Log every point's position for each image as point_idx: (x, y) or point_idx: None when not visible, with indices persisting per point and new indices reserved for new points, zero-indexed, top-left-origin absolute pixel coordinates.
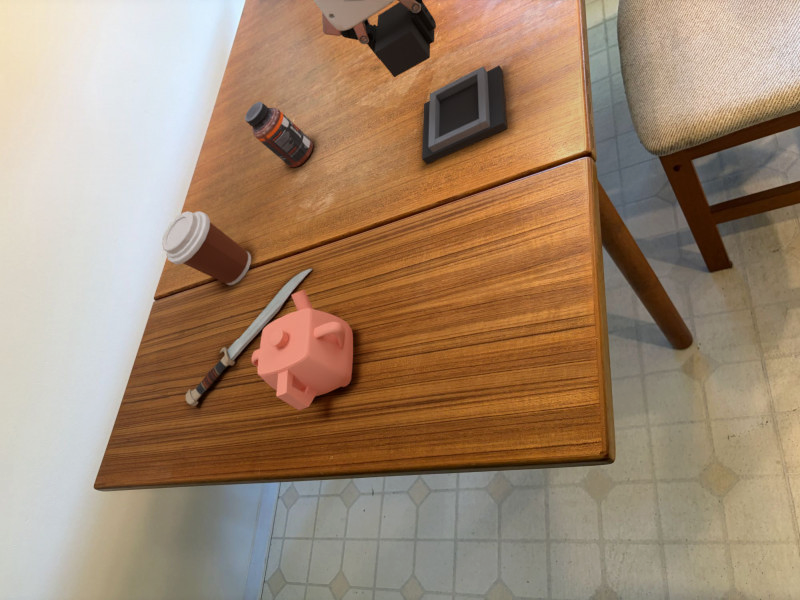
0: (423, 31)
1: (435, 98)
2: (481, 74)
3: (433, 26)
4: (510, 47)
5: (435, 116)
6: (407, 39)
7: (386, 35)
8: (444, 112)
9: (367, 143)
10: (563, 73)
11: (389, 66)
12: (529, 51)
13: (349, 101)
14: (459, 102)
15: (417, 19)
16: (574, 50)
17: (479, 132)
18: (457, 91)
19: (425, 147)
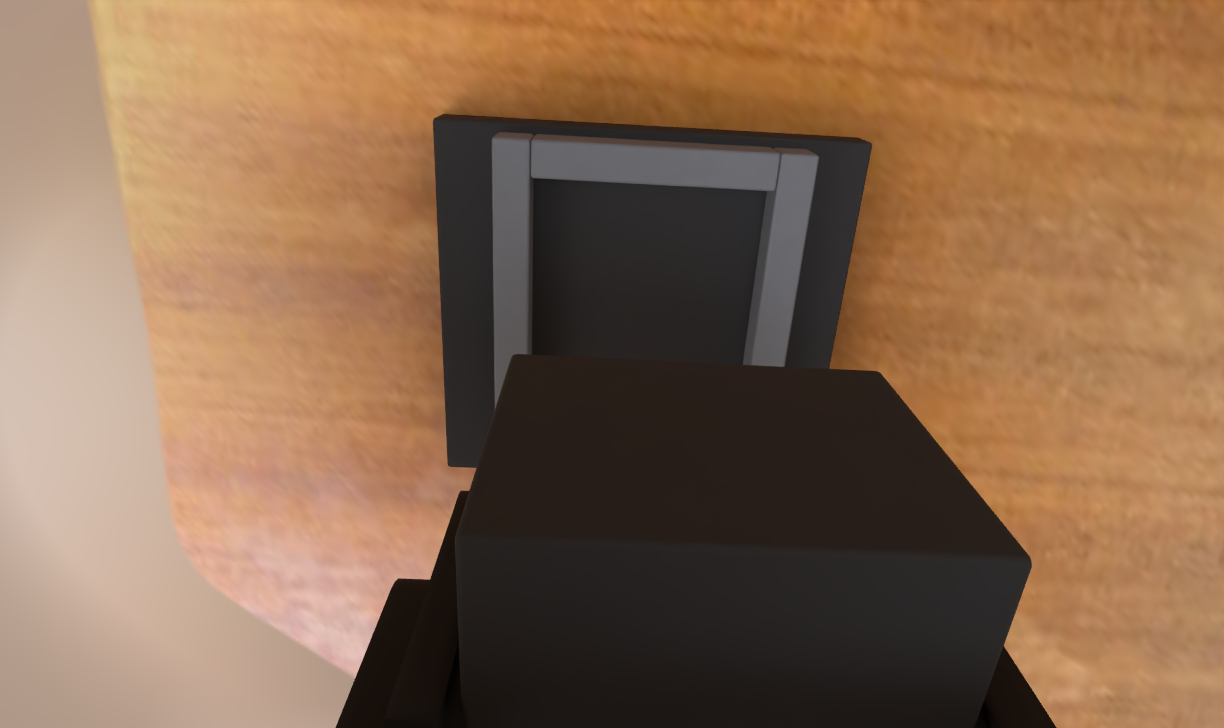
0: (455, 569)
1: None
2: None
3: (394, 591)
4: (422, 544)
5: (753, 342)
6: (561, 495)
7: (817, 713)
8: None
9: (1119, 456)
10: (196, 275)
11: (890, 422)
12: (345, 476)
13: (1135, 722)
14: None
15: (404, 676)
16: (159, 364)
17: (554, 130)
18: None
19: (841, 212)
